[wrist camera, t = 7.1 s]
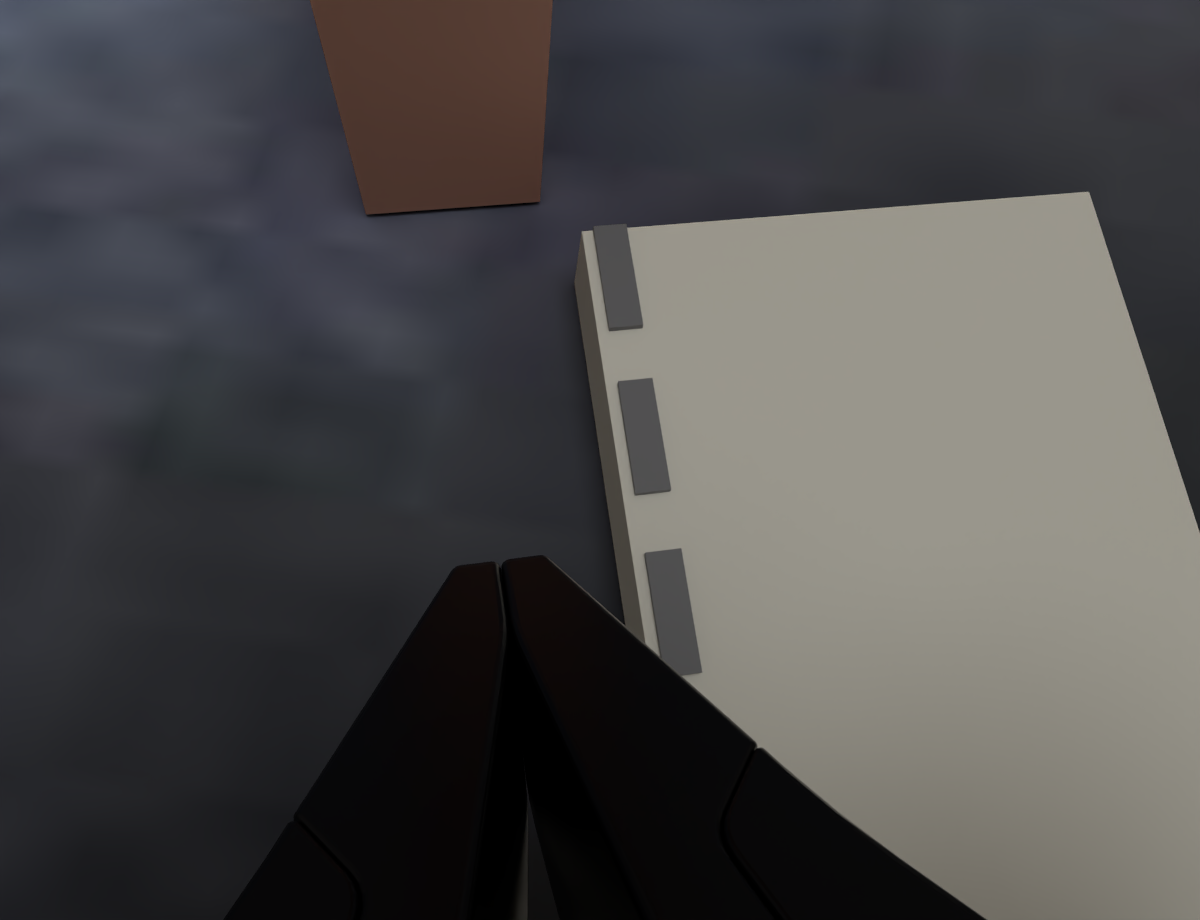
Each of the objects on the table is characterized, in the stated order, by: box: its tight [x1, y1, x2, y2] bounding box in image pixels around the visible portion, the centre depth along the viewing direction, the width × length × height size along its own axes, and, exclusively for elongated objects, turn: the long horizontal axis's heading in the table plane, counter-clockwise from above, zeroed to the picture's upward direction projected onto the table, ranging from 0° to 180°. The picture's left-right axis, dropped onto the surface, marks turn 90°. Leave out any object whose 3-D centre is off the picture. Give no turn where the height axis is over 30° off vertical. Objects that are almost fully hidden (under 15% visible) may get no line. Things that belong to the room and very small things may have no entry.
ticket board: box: [574, 192, 1200, 920], centre depth 17 cm, size 14×10×2 cm
